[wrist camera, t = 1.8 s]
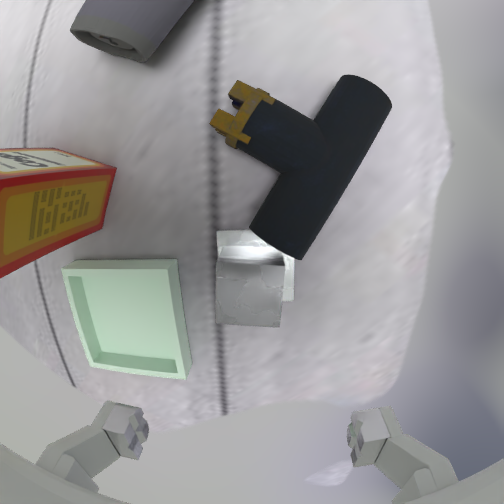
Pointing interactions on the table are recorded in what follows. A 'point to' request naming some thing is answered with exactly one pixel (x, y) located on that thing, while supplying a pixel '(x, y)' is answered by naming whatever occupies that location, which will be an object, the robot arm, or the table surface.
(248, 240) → the stud
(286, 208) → the pipe connector
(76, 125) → the table surface
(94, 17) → the bluetooth speaker
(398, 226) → the table surface
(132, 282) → the tray
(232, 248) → the brushed steel cube
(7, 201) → the baking soda box
